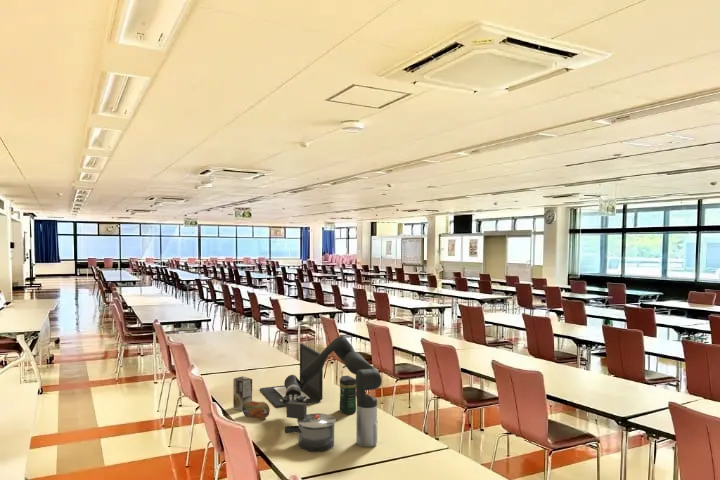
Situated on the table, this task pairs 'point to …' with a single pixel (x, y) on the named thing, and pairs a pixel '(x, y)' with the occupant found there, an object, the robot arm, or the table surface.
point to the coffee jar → (347, 394)
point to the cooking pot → (313, 437)
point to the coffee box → (241, 391)
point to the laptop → (310, 390)
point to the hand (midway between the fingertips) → (292, 405)
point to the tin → (256, 409)
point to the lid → (308, 416)
